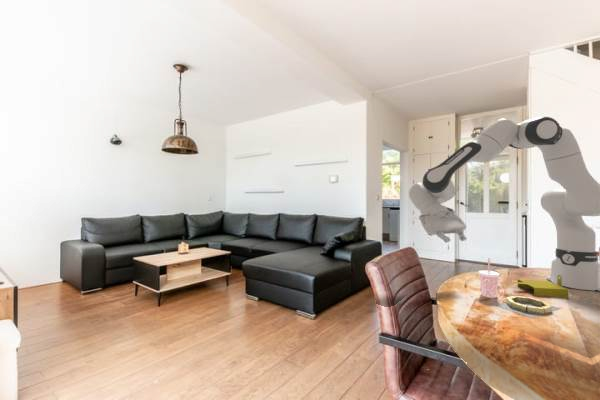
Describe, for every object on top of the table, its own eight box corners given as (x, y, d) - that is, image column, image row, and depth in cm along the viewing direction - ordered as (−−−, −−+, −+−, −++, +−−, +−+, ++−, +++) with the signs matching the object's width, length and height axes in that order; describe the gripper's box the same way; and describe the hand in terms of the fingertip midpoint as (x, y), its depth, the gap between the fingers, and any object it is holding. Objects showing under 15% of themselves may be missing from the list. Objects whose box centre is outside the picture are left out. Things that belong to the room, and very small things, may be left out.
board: (524, 300, 97) (524, 297, 97) (561, 311, 88) (561, 308, 88) (495, 308, 90) (495, 305, 90) (532, 321, 81) (532, 317, 81)
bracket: (502, 267, 113) (545, 269, 110) (502, 287, 113) (545, 289, 110) (525, 278, 98) (575, 281, 95) (525, 301, 98) (575, 304, 95)
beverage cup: (474, 295, 103) (474, 256, 102) (490, 294, 103) (490, 256, 103) (487, 301, 97) (487, 260, 96) (504, 300, 97) (504, 260, 97)
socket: (519, 299, 96) (519, 294, 96) (557, 310, 86) (557, 304, 86) (500, 304, 91) (500, 299, 91) (538, 316, 82) (538, 310, 82)
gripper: (421, 209, 113) (443, 237, 104) (456, 209, 122) (478, 234, 113) (412, 220, 117) (432, 247, 108) (446, 218, 126) (467, 243, 117)
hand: (456, 240), depth 111 cm, fingers open, 8 cm apart
